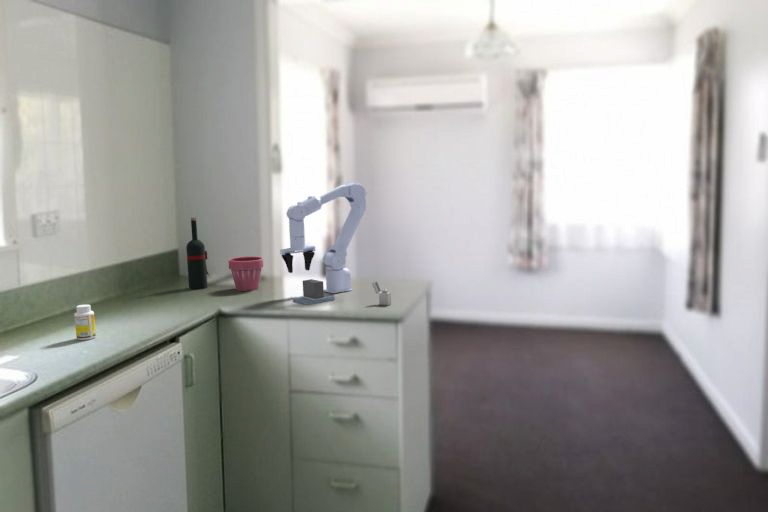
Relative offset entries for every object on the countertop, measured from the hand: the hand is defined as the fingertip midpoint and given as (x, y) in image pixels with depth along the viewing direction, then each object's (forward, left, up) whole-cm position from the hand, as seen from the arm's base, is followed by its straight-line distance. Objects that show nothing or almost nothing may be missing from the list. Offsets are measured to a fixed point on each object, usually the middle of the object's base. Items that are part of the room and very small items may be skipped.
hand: (299, 271), depth 274 cm
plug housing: (+2, +13, -8) cm, 15 cm away
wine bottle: (+22, -48, -10) cm, 54 cm away
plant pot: (+9, -29, -10) cm, 32 cm away
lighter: (-12, +37, -10) cm, 40 cm away
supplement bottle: (+83, +14, -10) cm, 84 cm away
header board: (+2, +13, -9) cm, 16 cm away
